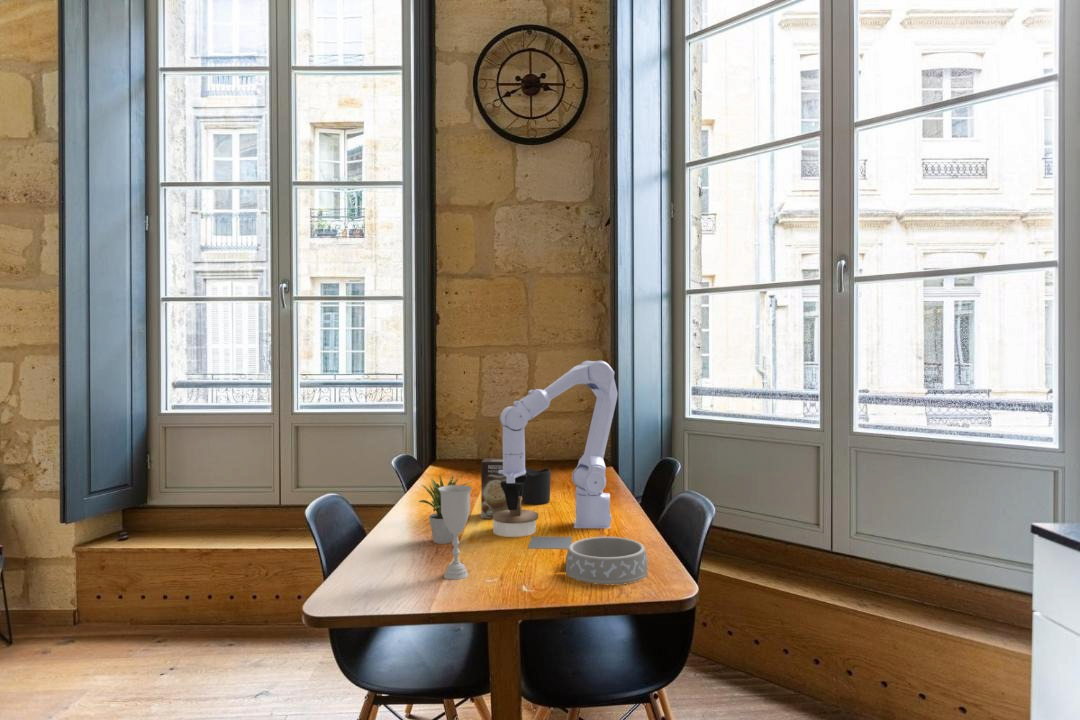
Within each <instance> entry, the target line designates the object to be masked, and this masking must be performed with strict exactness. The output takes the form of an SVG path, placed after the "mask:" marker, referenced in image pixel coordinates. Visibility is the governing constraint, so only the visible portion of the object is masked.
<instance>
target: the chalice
mask: <svg viewBox="0 0 1080 720" xmlns="http://www.w3.org/2000/svg"><path fill="white" fill-rule="evenodd" d="M472 490H473V487H472V486H470V485H463V484H456V485H449V486H447V485H444V486H443V487H440V488H439V491H440V493H441V514H442V517H443V520H444V522H445V524H446V526H447V528H448V530H449V532H451V533H453V536H454V539H453V542H451V544H452V546H453V549H452V551H451V553H452V554H453V561H452V562H451V563H449V564H447V567H446V570H445V573H444V575H443V577H444V578H445V579H447V580H462V579H465V578H468V577H469V573H468V571H467V568H466V566H465V564H464V563H463V562H461V561H460V560H459V555H460V553H461V551H460V548H459V545H460V543H461V542H460V541H459V534H461V533H463V531H464V529H465V526H466V524H467V522H468V519H469V517H470V513H471V491H472Z"/></svg>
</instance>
